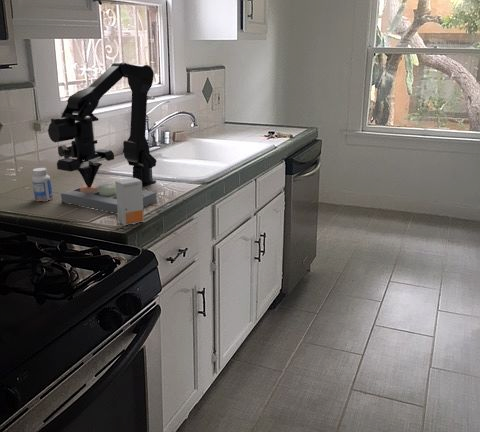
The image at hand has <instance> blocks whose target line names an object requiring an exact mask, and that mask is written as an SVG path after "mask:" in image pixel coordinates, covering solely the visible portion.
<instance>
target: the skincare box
mask: <svg viewBox="0 0 480 432" xmlns="http://www.w3.org/2000/svg"><path fill="white" fill-rule="evenodd" d="M114 182H115V185H116V196H117V210H118V215H117V219H118V220H117V221H119V222H120V223H122V224H123V225H128V224H133V223H138V222H143V223H145V218H144V217H145V215H144V214H145V213H144V207H143V193H142V190H143V186H142V181H141V180H139V179H137V178H133V177H131V178H124V179H121V180H115V181H114ZM119 222H118V223H119ZM120 223H119V224H120ZM122 224H121V225H122ZM138 224H139V223H138ZM123 225H122V226H123ZM133 225H134V224H133ZM128 226H129V225H128Z"/></svg>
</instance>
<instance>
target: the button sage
mask: <svg viewBox="0 0 480 432" xmlns="http://www.w3.org/2000/svg"><path fill="white" fill-rule="evenodd" d="M98 189H99V196H104V197H111V196H114V195H116V183H115V184H114V183H106V184H105V185H101V186H99V187H98Z"/></svg>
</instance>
